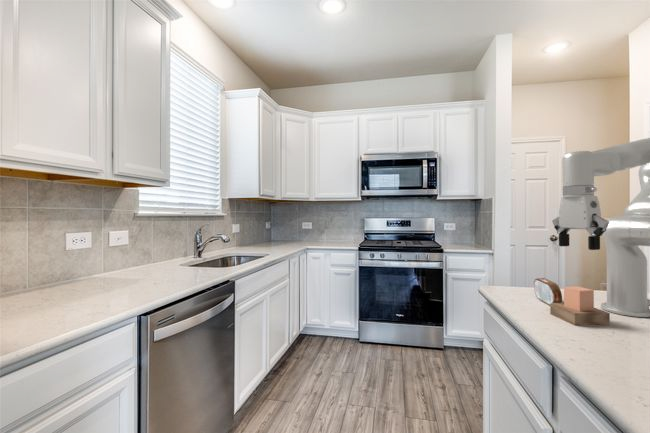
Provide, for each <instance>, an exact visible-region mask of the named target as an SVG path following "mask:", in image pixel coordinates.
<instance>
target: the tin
mask: <svg viewBox="0 0 650 433" xmlns="http://www.w3.org/2000/svg"><path fill="white" fill-rule="evenodd" d="M533 286H534V294H535V296H536V298H537V299H538V300H539V301H540V302H542V303H544V304H546V305H547V306H549V307H550V303H563V294H562V290H561V288H560V287H559V285H558V283H556V282H554V281H552V280H549V279H547V278H546V277H542V278H540V277H539V278H535V279H534V281H533Z"/></svg>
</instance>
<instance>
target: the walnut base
mask: <svg viewBox="0 0 650 433" xmlns="http://www.w3.org/2000/svg"><path fill="white" fill-rule="evenodd" d="M549 307H550V308H549V310H550V312H549V313H550V315H551V316H553V317H555V318H557V319H560V320H561V321H564V322H566V323H569V324H570V325H572V326H577V327H578V326H579V327H580V326H581V327H582V326H611V323H610V321H611V320H610V318H611V316H610V313H611V312H609V311H606V310H603V309H599V308H596V307H594V310H587V311H578V310H575V309H572V308H568V307H565V306H564V302H562V303H550V306H549Z"/></svg>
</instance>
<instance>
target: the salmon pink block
mask: <svg viewBox="0 0 650 433" xmlns="http://www.w3.org/2000/svg"><path fill="white" fill-rule="evenodd" d="M594 296H595V294H594V289H590V288H587V287H584V286H583V287H582V286H578V285H577V286H576V285H575V286H563V303H564V306H565V307H568V308H572V309H575V310H578V311H587V310H594V308H595V298H594Z"/></svg>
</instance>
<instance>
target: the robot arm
mask: <svg viewBox="0 0 650 433" xmlns="http://www.w3.org/2000/svg"><path fill="white" fill-rule="evenodd" d="M561 158H562V160H561V166H562V167H561V168H562V170H561V172H562V173H561V178H562V180H561V181H562V182H561V183H562V189H561V191H562V192H561V193H562V197H561V198H560V202H559V209H558V210H559V211H558V216H557V217H556V218H553V219H552V221H551V222H552V224H553V226H554V229H555V230H556V233H557V234H558V246H559V247H569V246H570V233H568V232H570V231H571V229H572V230H586V231H587V233H588V235H589V236H587V239H588V241H587V244H588V245H587V246H588V250H589V251H598V250H601V237H602V236H603V239H604V243H605V251H606V302H602V303H601V304H600V308H601V310H603V311H605V312H608V313H613V314H616V315H623V316H628V317H638V318H650V298H648V260H647V259H648V258H647V256H646V254H645V253H644V252H643V250H642V249H641V248H640V247H641V246H642V247H650V137H646V138H643V139H638V140H634V141H629V142H625V143H621V144H617V145H612V146H609V147H605V148H601V149H597V150H594V151H593V150H592V151H590V150H577V151H576V150H575V151H571V152H567V153H565V154H564V155H563V156H562V157H561ZM636 167H637V168H638V167H639V169H638V179H639V185H640V192H639V193H638V194H637V195H636V196H635V197H634V198H633V199H632V200H631V201H630V202H629V204H628V205H627V206H626V207H625V210H624V215H617V216H611V217H609V218H607V219H605V218H603V217H602V212H601V205H600V200H599V198H598V196H597V195H595V192H597V190H598V188H597V187H595V177H602V176H603V177H604V176H608V175H613V174H614V173H616V172H619V171H624V170H630V169H634V168H636Z"/></svg>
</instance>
